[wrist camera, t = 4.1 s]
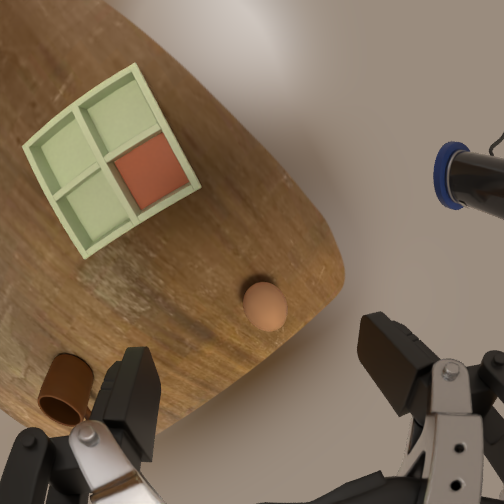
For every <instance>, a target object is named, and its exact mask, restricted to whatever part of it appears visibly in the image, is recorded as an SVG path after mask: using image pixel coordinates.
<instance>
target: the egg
mask: <svg viewBox="0 0 504 504" xmlns="http://www.w3.org/2000/svg"><path fill="white" fill-rule="evenodd" d="M243 308H244V312H245V314H246V316H247V318H248V319H249V321H250V322H251V323H252V324H253V325H254V326H256V327H257V328H259V329H261V330H264V331H274V330H277V329H279V328H280V327H281V326H282V325H283V324H284V323H285V320H286V318H287V311H288V306H287V302H286V299H285V297H284V295H283V293H282V292H281V290H280V289H279V288H277V287H276V286H275V285H273V284H271V283H267V282H260V283H256V284H254V285H252V286H251V287H250V288H249V289H248V290H247V291H246V293H245V295H244V299H243Z"/></svg>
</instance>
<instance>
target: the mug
mask: <svg viewBox="0 0 504 504" xmlns="http://www.w3.org/2000/svg"><path fill="white" fill-rule="evenodd" d="M92 385H93V374H92V371H91V369H90V368H89V366H88V365H87V364H86V363H85V362H83V361H82V360H81V359H79V358H77V357H75V356H72V355H68V354H62V355H59V356H57V357H56V358H55V359H54V360H53V362H52V364H51V366H50V369H49V371H48V373H47V375H46V377H45V380H44V382H43V385H42V387H41V390H40V393H39V397H38V405H39V407H40V409H41V410H42V412H43V413H44V414H45V415H46V416H48V417H49V418H50V419H52V420H53V421H55V422H57V423H59V424H62V425H65V426H70V427H75V426H76V425H77V424H79V423H81V422H83V419H84V417H85V419H86V420H89V418H90V415H91V411H90V409H89V408H88V406H87V405H88V401H89V397H90V393H91V388H92Z"/></svg>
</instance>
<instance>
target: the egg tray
mask: <svg viewBox="0 0 504 504" xmlns="http://www.w3.org/2000/svg"><path fill="white" fill-rule="evenodd" d="M22 147H23V150H24V152H25V154H26V156H27V159H28V161H29V163H30V165H31V167H32V169H33V171H34V173H35V176H36V178H37V180H38V182H39V184H40V185H41V187H42V189H43V191H44V193H45V195H46V197H47V199H48V201H49V202H50V204H51V206H52V208H53V210H54V211H55V213H56V215H57V217H58V218H59V220H60V222H61V223H62V225H63V227H64V228H65V230H66V232H67V233H68V235H69V237H70V238H71V240H72V241H73V243H74V245H75V246H76V248H77V249H78V251H79V252H80V254H81V255H82V257H83V258H84V260H85V259H87V258H88V257H89V256H91V255H92V254H94V253H95V252H97V251H98V250H100V249H101V248H103V247H104V246H106V245H107V244H109V243H110V242H112V241H113V240H115V239H116V238H118V237H119V236H121V235H122V234H124V233H126V232H127V231H129V230H130V229H132V228H134V227H135V226H137V225H138V224H140V223H142V222H143V221H145V220H146V219H148V218H150V217H151V216H153V215H155V214H156V213H158V212H160V211H161V210H163V209H165V208H167V207H168V206H170V205H172V204H173V203H175V202H177V201H179V200H180V199H182V198H184V197H186V196H187V195H189V194H191V193H193V192H194V191H196V190H198V189H200V188H201V184H200V182H199V180H198V178H197V176H196V175H195V173H194V171H193V169H192V167H191V165H190V163H189V161H188V160H187V158H186V156H185V154H184V152H183V150H182V148H181V147H180V145H179V143H178V141H177V139H176V137H175V135H174V133H173V132H172V130H171V128H170V126H169V124H168V122H167V120H166V118H165V116H164V115H163V113H162V111H161V109H160V107H159V105H158V103H157V101H156V99H155V97H154V96H153V94H152V92H151V90H150V88H149V86H148V84H147V82H146V80H145V78H144V76H143V74H142V73H141V71H140V69H139V67H138V66H137V64H136V63H134V64H132V65H130V66H129V67H127V68H125V69H123V70H122V71H120V72H118V73H117V74H115V75H113V76H112V77H110V78H108V79H107V80H105V81H104V82H102V83H101V84H99V85H98V86H96V87H95V88H93V89H92V90H90V91H89V92H87V93H86V94H85V95H83V96H82V97H80V98H79V99H78V100H76V101H75V102H73V103H72V104H71V105H70V106H68V107H67V108H66V109H64V110H63V111H62V112H60V113H59V114H58V115H57V116H55V117H54V118H53V119H52V120H51V121H49V122H48V123H47V124H46V125H45V126H44V127H42V128H41V129H40V130H39V131H38V132H37V133H36V134H35V135H34V136H32V137H31V138H30V139H29V140H28V141H27V142H26V143H25V144H24V145H23V146H22Z"/></svg>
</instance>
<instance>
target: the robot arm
mask: <svg viewBox="0 0 504 504" xmlns="http://www.w3.org/2000/svg"><path fill="white" fill-rule="evenodd" d="M503 139H504V133H503V135H502V136H501V137H500V139H498V140H497V141H496V142H494V143H493V144H492V145H491V147H490V149H489V153H490V156H489V155H485V154H479V153H474V152H468V151H465V150H455V151H454V152H453V153H452V154H451V155H450V157H449V159H448V161H447V164H446V168H445V188H446V192H447V194H448V196H449V198H450V199H451V200H452V201H453V202H455V203H458V204H461V205H462V206H464V207H466V208H468V207H471V208H474V209H477V210H480V211H482V212H485V213H487V214H490V215H493V216H495V217H498V218H500V219H503V220H504V158H499V157H495V156H494V154H493V152H492V150H493V148H494V147H495V146H497V145H498V144H499V143H500V142H501V141H502V140H503ZM467 206H468V207H467ZM357 353H358V358H359V360H360V362H361V364H362V365H363V366H364V368H365V369H366V371H367V372H368V373H369V375H370V376H371V378H372V379H373V380H374V382H375V383H376V385H377V386H378V387H379V389H380V390H381V391H382V393H383V394H384V396H385V397H386V399H387V400H388V401H389V403H390V404H391V406H392V407H393V409H394V410H395V412H396V413H397V415H398V416H399V417H401V416H403V415H405V414H407V413H411V414H412V418H411V422H410V427H409V433H408V438H407V444H406V449H405V453H404V458H403V462H402V464H401V467H400V469H399V471H398V474H397V476H392V477H384V476H383V474H382V472H381V471H380V470H379V471H377V472H375V473H372V474H369V475H367V476H364V477H361V478H359V479H356V480H353V481H350V482H347V483H345V484H343V485H342V486H340V487H338V488H336V489H334V490H333V491H331V492H329V493H327V494H325V495H323V496H321V497H320V498H317V499H315V500H314V501H311V502H306V503H266V502H265V503H259V504H504V485H503V490H502V491H501V492H500V495H499V497H500V500H498V499H492V498H487V497H482V496H481V493H482V482H483V455H485V456H486V458H487V459H488V460H489V462H490V464H491V465H492V467H493V468H494V470H495V471H496V473H497V474H498V476H499V477H500V479H501V480H502V482H503V484H504V419H503V418H502V416H501V415H500V414H499V413H498V412H497V410H496V409H495V408H494V407H493V406H492V405H493V404H494V402H495V400H496V399H497V397H499V399H500V400H501V401H502V402H503V403H504V353H503V352H501V351H497V350H493V351H489V352H487V353H486V354H485V355H484V357H483V359H482V361H481V364H479V365H474V366H469V367H466V366H464V364H463V363H461V362H460V361H457V360H454V359H442V360H441V359H440V358H439V357H437V355H435V354H434V353H433V352H432V351H431V350H430V349H429V348H428V347H427V346H426V345H425V344H424V343H423V342H422V341H421V340H419V338H418V337H417V336H415V335H414V334H412V332H411V331H410V330H409V329H408V328H407V327H406V326H404V325H402V324H400V323H398V322H396V321H391V320H390V319H389V318H388V317H387V316H386V315H385V314H384V313H383V312H376V313H372V314H368V315H363V316H362V318H361V323H360V330H359V338H358V346H357ZM160 396H161V383H160V379H159V376H158V373H157V370H156V367H155V364H154V362H153V359H152V356H151V353H150V350H149V348H148V347H128V348H127V349H126V351H125V354H124V357H123V359H122V361H116V362H115V363H114V364H113V365H112V366H111V367H110V368H109V369H108V370H107V373H106V375H105V378H104V382H103V383H102V385H101V390H100V391H99V393H98V396H97V398H96V401H95V404H94V406H93V409H92V412H91V415H90V418H89V420H86V421H83V422H81V423H79V424H77V425H76V426H75V427H74V428H73V429H72V431H71V432H70V435H69V436H62V437H54V438H49V437H48V436H47V435H46V434H45V433H44V431H43V430H41V429H39V428H36V427H30V428H27V429H25V430H23V431H22V432H21V433H19V434H18V436H17V437H16V439H15V442H14V444H13V447H12V449H11V452H10V455H9V458H8V460H7V463H6V466H5V469H4V472H3V475H2V478H1V481H0V504H44V501H45V496H46V491H47V487H48V484H49V485H50V486H49V490H48V495H47V500H46V504H88V496H89V493H93V495H91V496H90V500H91V502H92V504H167V503H166V502H165V501H164V500H163V499H162V498H161V496H160V495H159V494H158V493H157V492H156V490H155V489H154V488H153V487H152V486H151V484H150V483H149V482H148V481H147V479H146V478H145V477H144V475H143V474H142V473H141V471H140V466H141V462H152V457H153V448H154V439H155V431H156V424H157V416H158V409H159V403H160Z"/></svg>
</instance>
